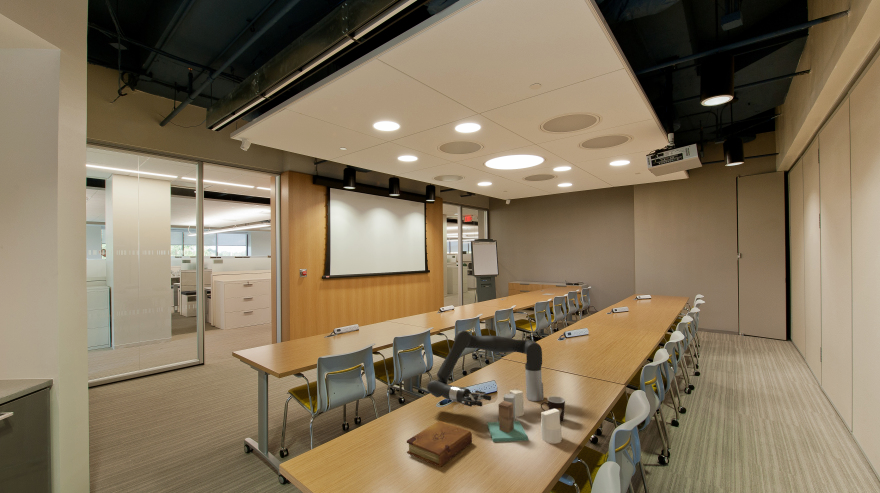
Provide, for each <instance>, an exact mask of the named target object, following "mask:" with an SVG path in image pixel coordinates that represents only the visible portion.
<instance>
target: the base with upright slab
mask: <svg viewBox="0 0 880 493" xmlns="http://www.w3.org/2000/svg"><path fill="white" fill-rule="evenodd" d="M540 419H541V421H540V438H541V440H542V441H544V442H545V443H548V444H560V443H561V442H562V441H563V439H562V425H561V422H560V414H559V410H557V409H555V408H554V409H551V410H549V409H548V410H545V411H544V410H543V411H542V412H540ZM561 440H562V441H561Z"/></svg>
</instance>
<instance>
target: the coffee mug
mask: <svg viewBox="0 0 880 493" xmlns="http://www.w3.org/2000/svg"><path fill="white" fill-rule="evenodd" d="M544 404H546V405H547V406H548V410H551V409H554V408H555V409H557V410H559V414H560V423H562V422H564V418H565V408H566V407H565V406H566V398H564V397H561V396H556V395H555V396H547V402H546V401H543V402H542V403H541V404H540V408H541V409H542V411H543V412H544V411H546V410H545V409H544V408H543V405H544Z"/></svg>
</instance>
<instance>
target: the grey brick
mask: <svg viewBox="0 0 880 493" xmlns="http://www.w3.org/2000/svg"><path fill="white" fill-rule="evenodd" d="M503 395H504V396H503V401H506V402H510V403H513V418H514V421H516V417H515V395H512V394H510V393H505V394H503Z"/></svg>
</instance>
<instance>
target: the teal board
mask: <svg viewBox="0 0 880 493" xmlns="http://www.w3.org/2000/svg"><path fill="white" fill-rule="evenodd" d="M486 424H487V429H488V431H489V434H490V437H491V441H492V442H493V443H496V442H497V443H500V442H501V441H502V442H520V441H521V442H523V441H529V438H528V434H527V433H526V431H525V429H524V427H523V425H522V423H521V422H520V421H519V420H515V421H514V429H513V430H512V431H511V432H509V433H508V432H504V431H501V430H499V421H489V422H487V423H486Z"/></svg>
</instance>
